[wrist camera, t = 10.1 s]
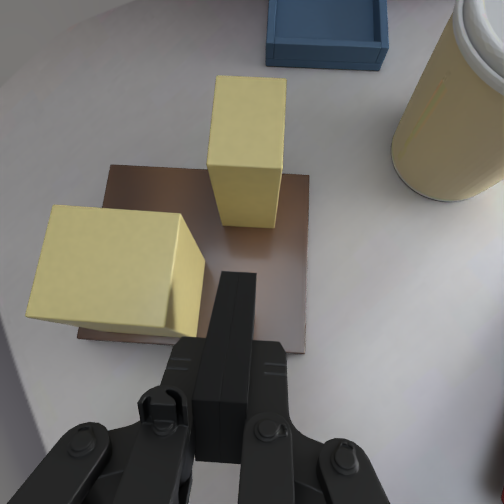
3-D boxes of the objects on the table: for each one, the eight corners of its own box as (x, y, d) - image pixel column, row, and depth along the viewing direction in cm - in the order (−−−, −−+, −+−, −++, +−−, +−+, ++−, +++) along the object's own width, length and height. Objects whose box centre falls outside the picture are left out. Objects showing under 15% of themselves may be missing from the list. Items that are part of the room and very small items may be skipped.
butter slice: (221, 226, 24) (205, 164, 17) (228, 159, 26) (216, 74, 18) (274, 229, 24) (282, 168, 17) (277, 161, 26) (286, 77, 18)
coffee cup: (510, 115, 28) (684, -52, 17) (502, 226, 26) (700, 119, 14) (388, 91, 29) (475, -85, 18) (369, 197, 27) (456, 72, 15)
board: (86, 339, 24) (76, 338, 22) (117, 174, 27) (110, 164, 26) (302, 354, 24) (305, 353, 22) (306, 184, 27) (309, 174, 25)
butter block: (102, 331, 23) (23, 316, 15) (117, 253, 24) (52, 203, 16) (196, 339, 22) (164, 328, 15) (205, 260, 24) (181, 212, 16)
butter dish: (265, 66, 30) (266, 42, 28) (271, -19, 32) (272, -47, 30) (379, 71, 30) (389, 48, 27) (376, -15, 32) (384, -43, 30)
